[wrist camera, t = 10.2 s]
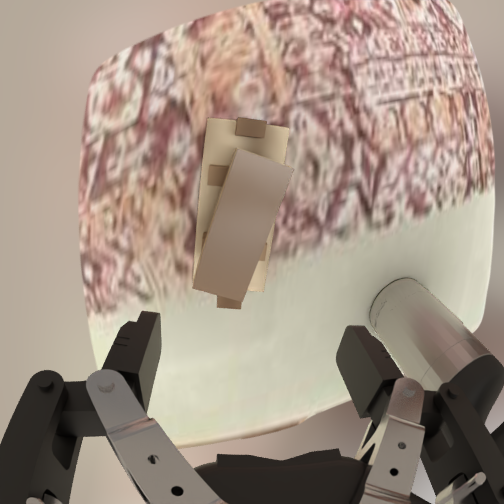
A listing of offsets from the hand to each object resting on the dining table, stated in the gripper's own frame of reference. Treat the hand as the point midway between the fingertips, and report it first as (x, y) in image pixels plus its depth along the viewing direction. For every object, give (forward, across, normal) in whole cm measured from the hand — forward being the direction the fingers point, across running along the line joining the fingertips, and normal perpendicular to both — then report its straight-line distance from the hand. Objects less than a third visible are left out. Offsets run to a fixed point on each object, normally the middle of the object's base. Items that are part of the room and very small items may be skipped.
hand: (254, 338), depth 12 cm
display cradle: (+20, 0, -1) cm, 20 cm away
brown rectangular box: (+17, 0, -1) cm, 17 cm away
